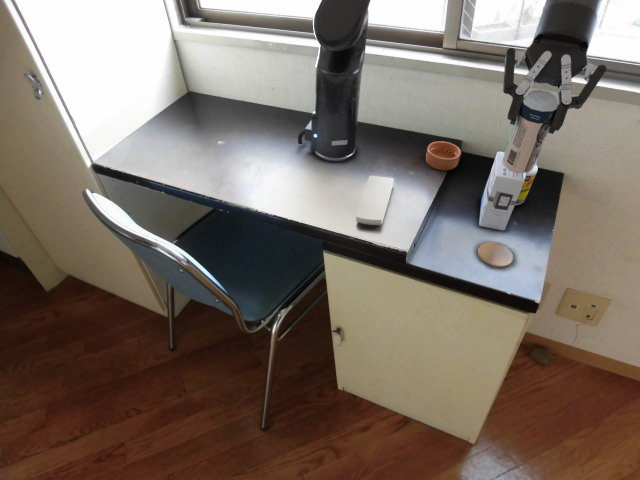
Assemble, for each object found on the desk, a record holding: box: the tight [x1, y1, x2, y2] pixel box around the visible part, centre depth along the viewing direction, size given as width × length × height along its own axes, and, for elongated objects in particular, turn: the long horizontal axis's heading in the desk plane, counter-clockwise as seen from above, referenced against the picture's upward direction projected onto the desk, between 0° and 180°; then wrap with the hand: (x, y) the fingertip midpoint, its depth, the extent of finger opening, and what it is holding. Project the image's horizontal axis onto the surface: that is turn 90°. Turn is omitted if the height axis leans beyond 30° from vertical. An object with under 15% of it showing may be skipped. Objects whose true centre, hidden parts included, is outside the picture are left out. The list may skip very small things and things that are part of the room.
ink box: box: [478, 151, 528, 231], centre depth 87 cm, size 9×5×15 cm, turn 163°
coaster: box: [477, 241, 514, 268], centre depth 84 cm, size 6×6×1 cm
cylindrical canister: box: [502, 89, 559, 173], centre depth 71 cm, size 5×5×12 cm
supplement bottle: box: [515, 157, 539, 206], centre depth 93 cm, size 6×6×10 cm
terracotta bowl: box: [424, 140, 462, 171], centre depth 105 cm, size 7×7×3 cm
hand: (532, 126), depth 69 cm, fingers closed on cylindrical canister, 4 cm apart
